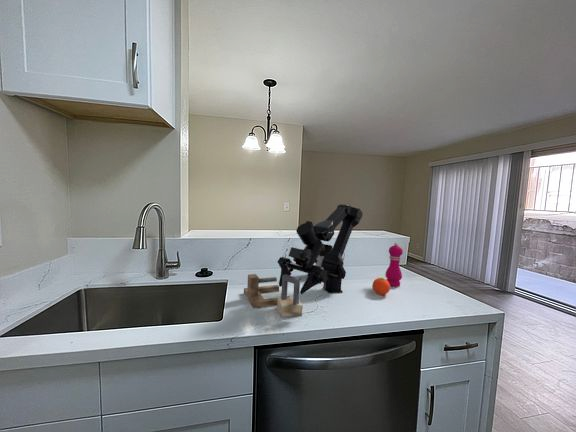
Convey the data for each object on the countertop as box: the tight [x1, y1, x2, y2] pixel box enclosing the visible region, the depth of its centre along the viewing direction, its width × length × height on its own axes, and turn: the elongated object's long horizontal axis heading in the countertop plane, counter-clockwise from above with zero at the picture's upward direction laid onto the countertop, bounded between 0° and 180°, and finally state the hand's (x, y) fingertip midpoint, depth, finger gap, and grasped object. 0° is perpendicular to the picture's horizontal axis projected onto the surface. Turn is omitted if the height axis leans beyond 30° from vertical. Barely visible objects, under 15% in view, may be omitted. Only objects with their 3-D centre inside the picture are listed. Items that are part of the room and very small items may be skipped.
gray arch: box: [280, 274, 301, 305], centre depth 86 cm, size 2×6×8 cm, turn 50°
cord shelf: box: [243, 273, 291, 309], centre depth 97 cm, size 14×14×9 cm
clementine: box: [371, 277, 391, 296], centre depth 107 cm, size 8×7×7 cm
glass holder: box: [315, 243, 346, 267], centre depth 128 cm, size 9×14×15 cm, turn 79°
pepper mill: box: [384, 241, 404, 288], centre depth 119 cm, size 7×7×20 cm
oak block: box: [276, 296, 304, 318], centre depth 87 cm, size 7×7×4 cm
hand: (289, 289), depth 86 cm, fingers open, 9 cm apart
